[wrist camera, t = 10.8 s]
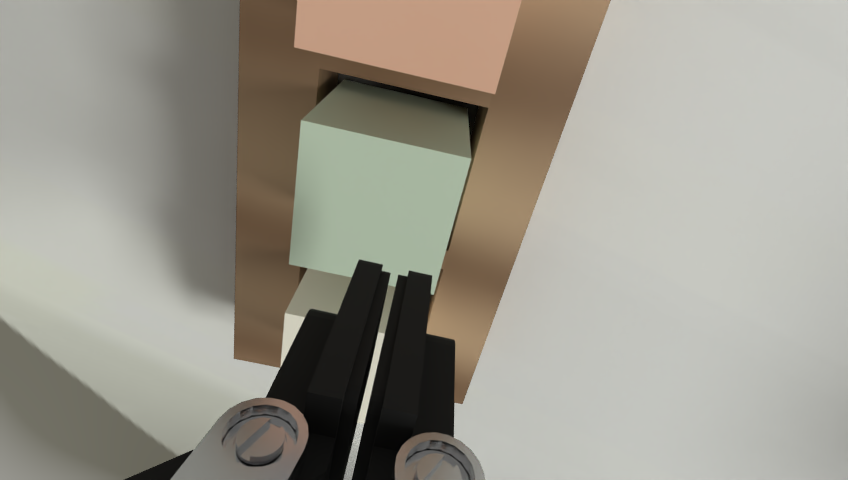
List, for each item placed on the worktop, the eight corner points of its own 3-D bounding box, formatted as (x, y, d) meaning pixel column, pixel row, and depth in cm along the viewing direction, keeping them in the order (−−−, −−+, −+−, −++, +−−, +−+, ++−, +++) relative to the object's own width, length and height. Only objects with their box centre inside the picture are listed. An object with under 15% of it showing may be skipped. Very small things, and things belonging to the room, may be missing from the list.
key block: (461, 355, 23) (462, 404, 21) (259, 314, 23) (233, 358, 20) (751, -494, 11) (848, -648, 8) (306, -631, 10) (253, -844, 7)
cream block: (408, 334, 21) (396, 429, 17) (314, 315, 21) (277, 406, 16) (429, 256, 19) (420, 340, 14) (325, 233, 19) (284, 312, 14)
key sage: (439, 217, 18) (433, 294, 14) (330, 193, 18) (288, 264, 13) (467, 108, 16) (471, 158, 12) (343, 79, 16) (301, 120, 11)
